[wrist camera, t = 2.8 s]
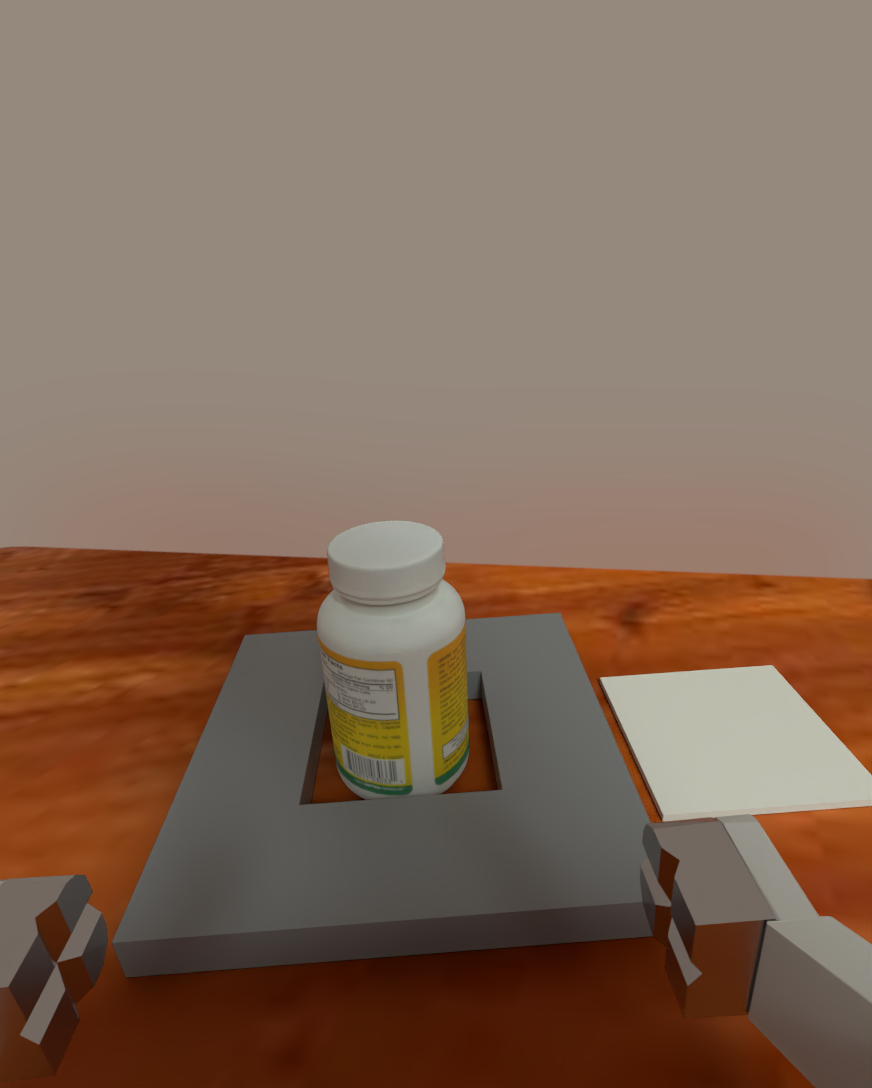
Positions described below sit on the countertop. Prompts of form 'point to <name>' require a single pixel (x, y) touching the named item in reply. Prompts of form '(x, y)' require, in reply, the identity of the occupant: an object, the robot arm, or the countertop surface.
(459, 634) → the supplement bottle
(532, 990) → the countertop surface
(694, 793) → the mat
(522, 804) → the housing plate
